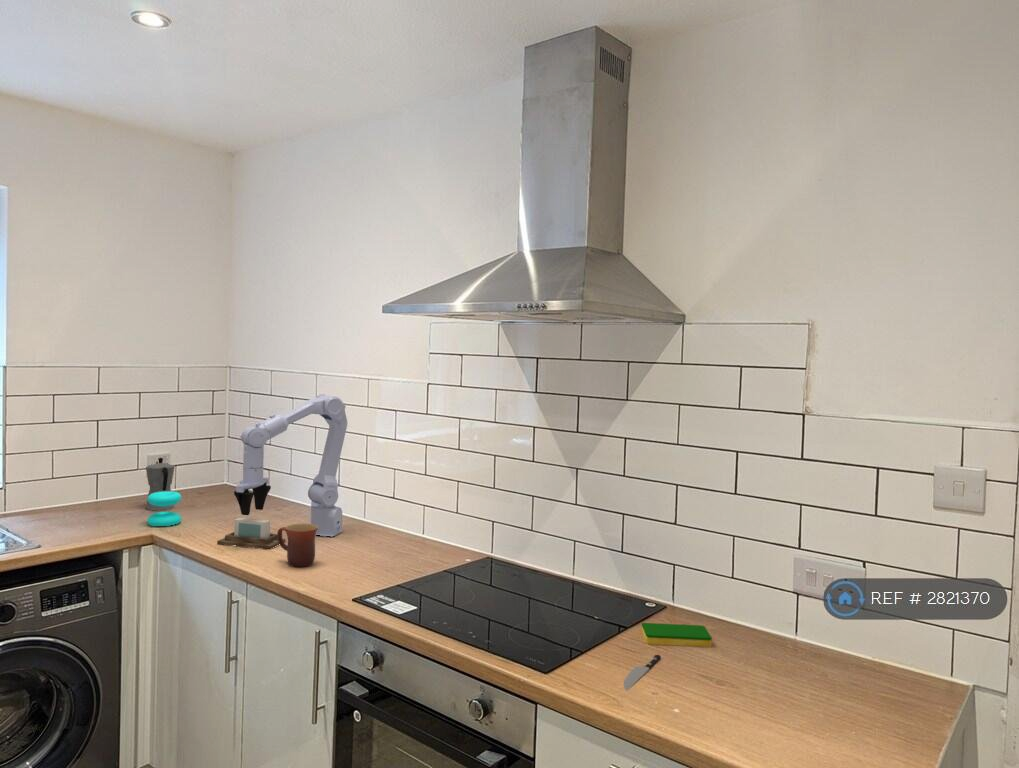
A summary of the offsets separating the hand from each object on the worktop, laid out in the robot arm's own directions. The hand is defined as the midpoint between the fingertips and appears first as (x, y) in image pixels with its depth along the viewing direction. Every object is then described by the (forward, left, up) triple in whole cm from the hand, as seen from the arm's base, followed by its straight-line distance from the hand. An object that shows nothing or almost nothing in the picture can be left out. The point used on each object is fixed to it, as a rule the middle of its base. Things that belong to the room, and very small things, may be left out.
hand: (252, 512), depth 223 cm
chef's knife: (-117, +57, -10) cm, 130 cm away
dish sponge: (-124, +37, -10) cm, 130 cm away
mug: (-22, +14, -10) cm, 28 cm away
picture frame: (0, 0, -8) cm, 8 cm away
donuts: (+38, -11, -10) cm, 41 cm away
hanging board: (0, 0, -9) cm, 9 cm away
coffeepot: (+53, -29, -10) cm, 61 cm away
